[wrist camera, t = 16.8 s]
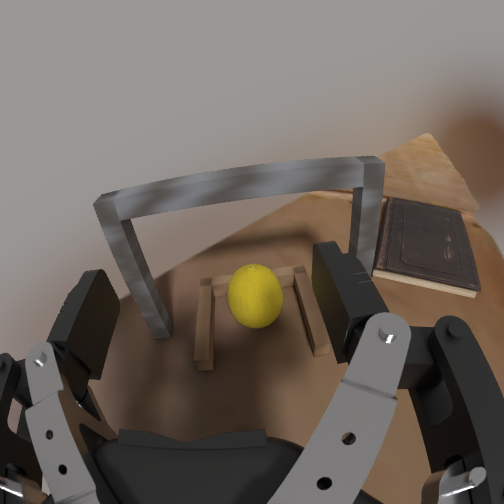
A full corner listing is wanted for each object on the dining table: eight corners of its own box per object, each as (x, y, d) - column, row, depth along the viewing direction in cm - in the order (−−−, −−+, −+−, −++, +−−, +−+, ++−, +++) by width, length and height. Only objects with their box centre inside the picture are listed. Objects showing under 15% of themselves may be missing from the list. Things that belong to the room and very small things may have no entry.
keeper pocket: (149, 372, 26) (67, 234, 16) (164, 294, 36) (121, 174, 26) (378, 342, 25) (417, 184, 16) (343, 270, 36) (350, 141, 26)
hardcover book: (458, 222, 43) (460, 211, 42) (475, 302, 27) (481, 290, 26) (385, 206, 50) (386, 196, 49) (370, 279, 34) (372, 266, 33)
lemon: (225, 320, 31) (210, 264, 26) (265, 298, 33) (258, 242, 29) (251, 351, 27) (240, 296, 22) (294, 325, 29) (293, 267, 25)
